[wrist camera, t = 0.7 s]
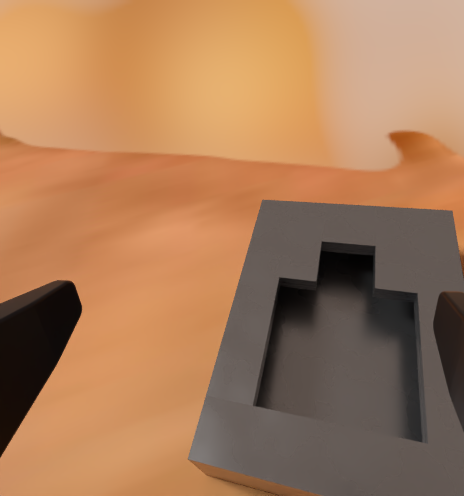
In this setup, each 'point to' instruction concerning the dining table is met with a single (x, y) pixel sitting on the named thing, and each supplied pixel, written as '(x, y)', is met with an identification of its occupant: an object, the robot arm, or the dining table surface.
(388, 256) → the keyhole plate
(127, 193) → the dining table surface
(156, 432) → the dining table surface
